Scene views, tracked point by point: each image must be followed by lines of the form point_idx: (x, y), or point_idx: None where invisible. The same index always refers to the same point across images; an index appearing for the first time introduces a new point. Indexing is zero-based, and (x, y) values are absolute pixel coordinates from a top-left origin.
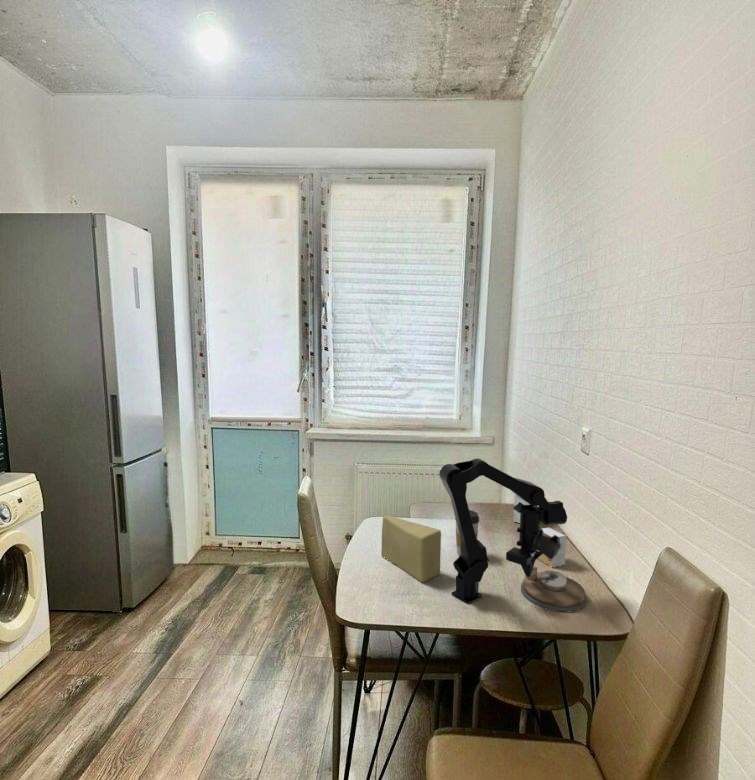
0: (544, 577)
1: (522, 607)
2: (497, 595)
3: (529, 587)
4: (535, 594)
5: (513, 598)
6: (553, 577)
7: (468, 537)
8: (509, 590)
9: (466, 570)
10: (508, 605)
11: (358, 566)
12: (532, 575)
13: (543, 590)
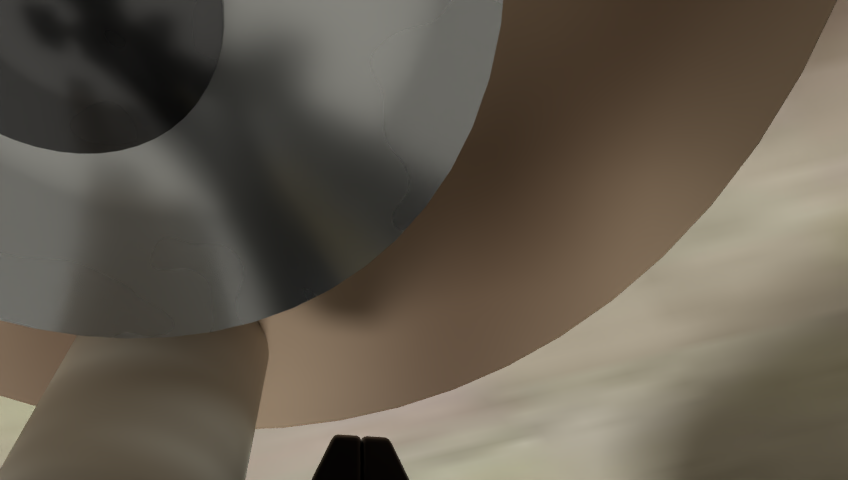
0: (359, 222)
1: (826, 218)
2: (645, 460)
3: (521, 305)
4: (732, 176)
5: (642, 344)
6: None
7: None
8: (478, 415)
9: None
10: (820, 342)
11: None
12: (242, 403)
13: (503, 87)
